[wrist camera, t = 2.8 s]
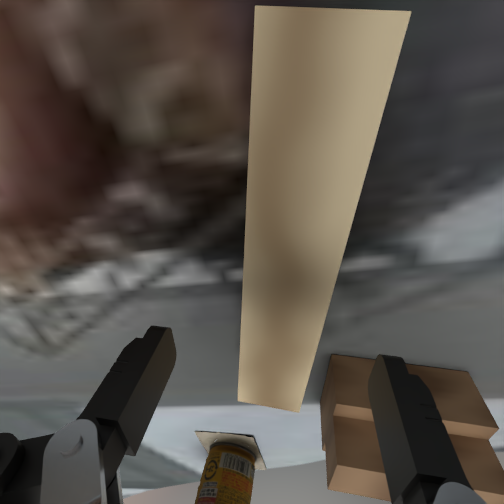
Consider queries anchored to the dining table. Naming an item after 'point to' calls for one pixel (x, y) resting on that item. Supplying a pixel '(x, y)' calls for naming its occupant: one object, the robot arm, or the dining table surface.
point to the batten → (305, 179)
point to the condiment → (228, 468)
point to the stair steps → (365, 437)
